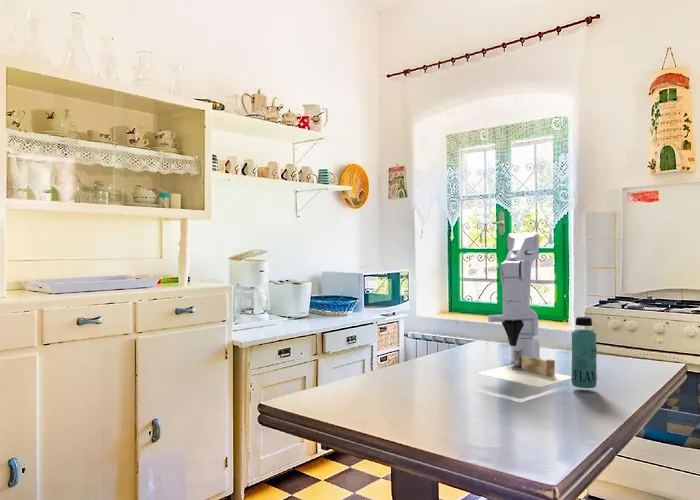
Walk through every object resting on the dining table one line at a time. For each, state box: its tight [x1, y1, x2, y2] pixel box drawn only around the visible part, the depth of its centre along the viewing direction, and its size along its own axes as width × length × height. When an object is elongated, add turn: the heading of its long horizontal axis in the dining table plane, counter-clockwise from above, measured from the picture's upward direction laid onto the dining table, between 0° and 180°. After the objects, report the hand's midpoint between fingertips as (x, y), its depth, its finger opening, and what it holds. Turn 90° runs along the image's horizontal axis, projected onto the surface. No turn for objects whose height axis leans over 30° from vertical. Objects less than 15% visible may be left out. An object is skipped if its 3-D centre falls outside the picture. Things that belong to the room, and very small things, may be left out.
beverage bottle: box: [570, 316, 598, 389], centre depth 149 cm, size 6×7×20 cm
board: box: [476, 364, 572, 388], centre depth 164 cm, size 18×22×1 cm
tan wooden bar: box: [522, 356, 556, 376], centre depth 166 cm, size 11×2×4 cm, turn 33°
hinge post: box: [512, 349, 523, 370], centre depth 172 cm, size 4×4×7 cm
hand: (512, 345), depth 166 cm, fingers closed
